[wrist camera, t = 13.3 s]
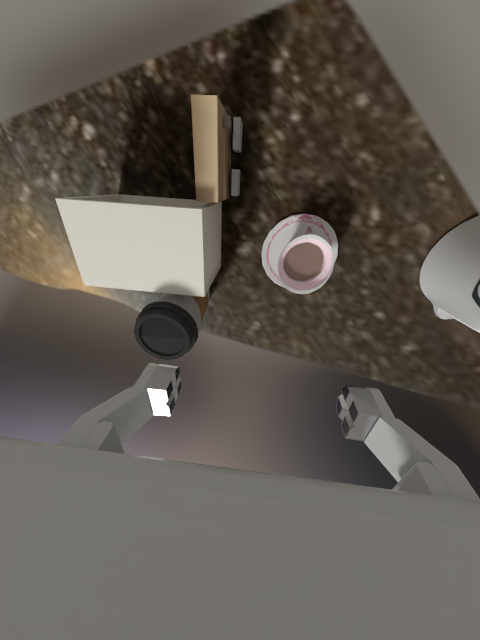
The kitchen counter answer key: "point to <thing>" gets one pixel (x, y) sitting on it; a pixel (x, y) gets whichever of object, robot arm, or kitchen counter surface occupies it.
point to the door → (211, 148)
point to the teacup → (300, 253)
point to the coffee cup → (170, 324)
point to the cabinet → (148, 239)
